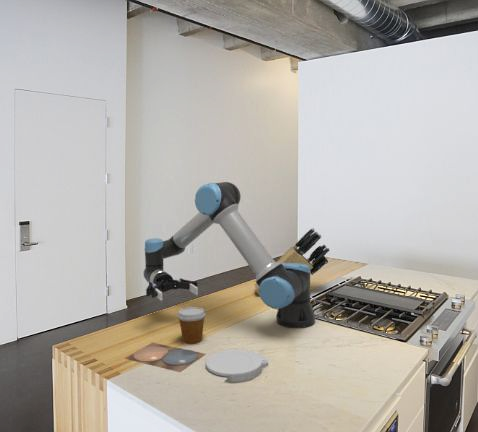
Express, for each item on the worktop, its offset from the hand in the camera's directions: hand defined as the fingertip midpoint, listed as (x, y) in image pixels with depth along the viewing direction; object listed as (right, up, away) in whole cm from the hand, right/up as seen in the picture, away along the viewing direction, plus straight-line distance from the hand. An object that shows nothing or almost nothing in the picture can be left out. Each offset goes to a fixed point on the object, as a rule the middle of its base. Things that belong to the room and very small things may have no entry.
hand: (179, 294), depth 160 cm
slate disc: (+3, -16, -21) cm, 27 cm away
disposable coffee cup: (+6, -16, -7) cm, 19 cm away
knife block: (+47, -9, +52) cm, 70 cm away
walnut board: (-2, -18, -20) cm, 27 cm away
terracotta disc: (-7, -16, -18) cm, 25 cm away
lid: (+21, -18, -26) cm, 39 cm away
